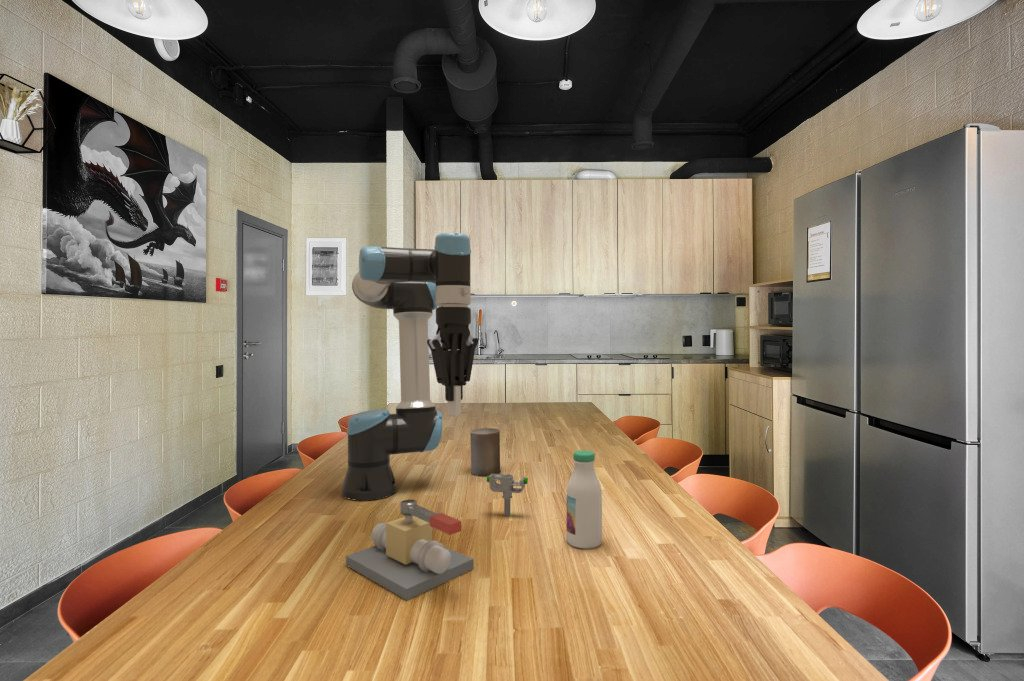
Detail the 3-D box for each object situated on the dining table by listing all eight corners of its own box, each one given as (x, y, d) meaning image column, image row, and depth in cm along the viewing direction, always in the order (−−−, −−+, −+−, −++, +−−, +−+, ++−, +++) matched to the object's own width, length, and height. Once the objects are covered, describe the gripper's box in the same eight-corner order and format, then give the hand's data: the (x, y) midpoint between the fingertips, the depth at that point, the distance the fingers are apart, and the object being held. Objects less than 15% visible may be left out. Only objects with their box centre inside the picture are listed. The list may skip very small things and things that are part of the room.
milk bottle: (604, 537, 119) (604, 449, 118) (598, 551, 111) (598, 457, 111) (570, 533, 121) (570, 447, 121) (562, 547, 114) (562, 454, 113)
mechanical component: (526, 518, 131) (526, 478, 130) (486, 515, 133) (485, 476, 132) (528, 514, 134) (528, 475, 133) (489, 511, 136) (488, 473, 135)
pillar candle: (506, 470, 174) (505, 425, 174) (489, 478, 166) (488, 430, 165) (482, 467, 179) (481, 423, 179) (464, 473, 171) (463, 427, 171)
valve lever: (397, 512, 104) (397, 502, 104) (411, 508, 107) (411, 498, 107) (448, 536, 92) (448, 524, 92) (462, 531, 95) (462, 520, 95)
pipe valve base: (346, 565, 105) (345, 512, 105) (411, 541, 117) (410, 493, 117) (406, 600, 92) (406, 539, 92) (473, 568, 104) (473, 514, 104)
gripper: (441, 305, 106) (442, 421, 107) (487, 306, 116) (487, 413, 116) (418, 306, 111) (419, 417, 112) (463, 307, 121) (464, 410, 121)
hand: (454, 415), depth 114 cm, fingers closed
